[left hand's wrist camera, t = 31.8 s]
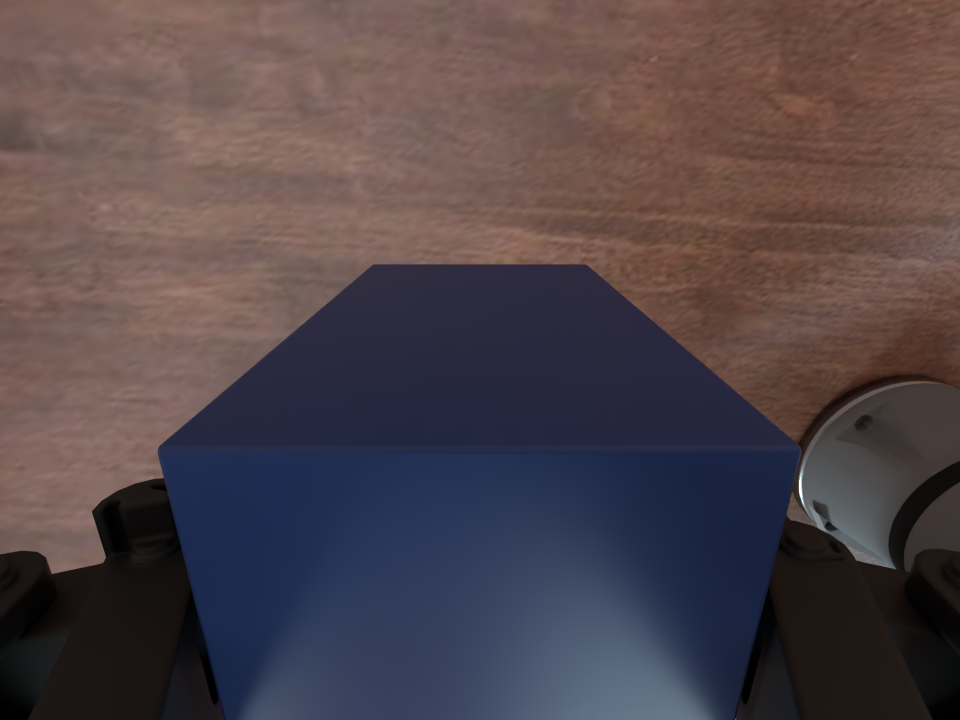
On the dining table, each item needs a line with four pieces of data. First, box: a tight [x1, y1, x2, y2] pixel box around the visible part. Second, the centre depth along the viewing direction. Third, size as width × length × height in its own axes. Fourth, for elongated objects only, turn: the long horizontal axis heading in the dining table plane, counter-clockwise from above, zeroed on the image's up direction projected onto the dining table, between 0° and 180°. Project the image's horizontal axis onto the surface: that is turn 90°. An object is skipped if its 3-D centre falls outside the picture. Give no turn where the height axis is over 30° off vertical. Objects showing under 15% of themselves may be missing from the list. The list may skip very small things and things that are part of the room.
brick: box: [158, 265, 802, 720], centre depth 12 cm, size 7×7×11 cm
